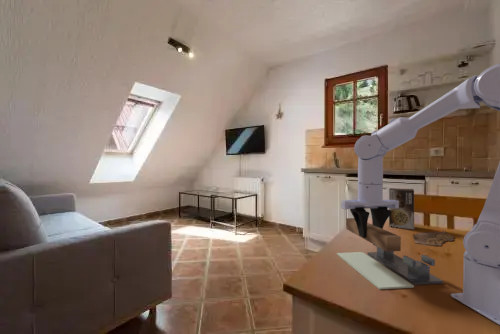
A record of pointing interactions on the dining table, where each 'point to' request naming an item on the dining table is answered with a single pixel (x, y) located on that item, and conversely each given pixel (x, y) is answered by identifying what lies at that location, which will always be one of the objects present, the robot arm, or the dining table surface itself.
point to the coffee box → (402, 208)
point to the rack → (407, 266)
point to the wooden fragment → (432, 238)
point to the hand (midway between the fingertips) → (369, 236)
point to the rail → (377, 236)
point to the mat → (374, 271)
